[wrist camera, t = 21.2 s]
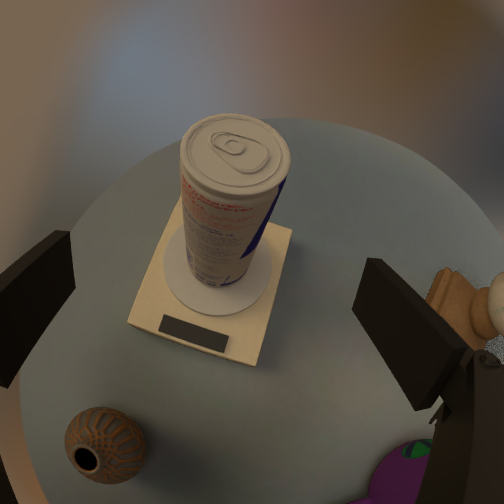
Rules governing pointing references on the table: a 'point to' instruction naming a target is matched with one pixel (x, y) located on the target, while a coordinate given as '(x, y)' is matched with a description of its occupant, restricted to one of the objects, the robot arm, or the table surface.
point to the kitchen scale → (210, 297)
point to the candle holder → (469, 307)
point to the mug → (399, 475)
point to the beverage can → (228, 192)
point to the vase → (105, 445)
